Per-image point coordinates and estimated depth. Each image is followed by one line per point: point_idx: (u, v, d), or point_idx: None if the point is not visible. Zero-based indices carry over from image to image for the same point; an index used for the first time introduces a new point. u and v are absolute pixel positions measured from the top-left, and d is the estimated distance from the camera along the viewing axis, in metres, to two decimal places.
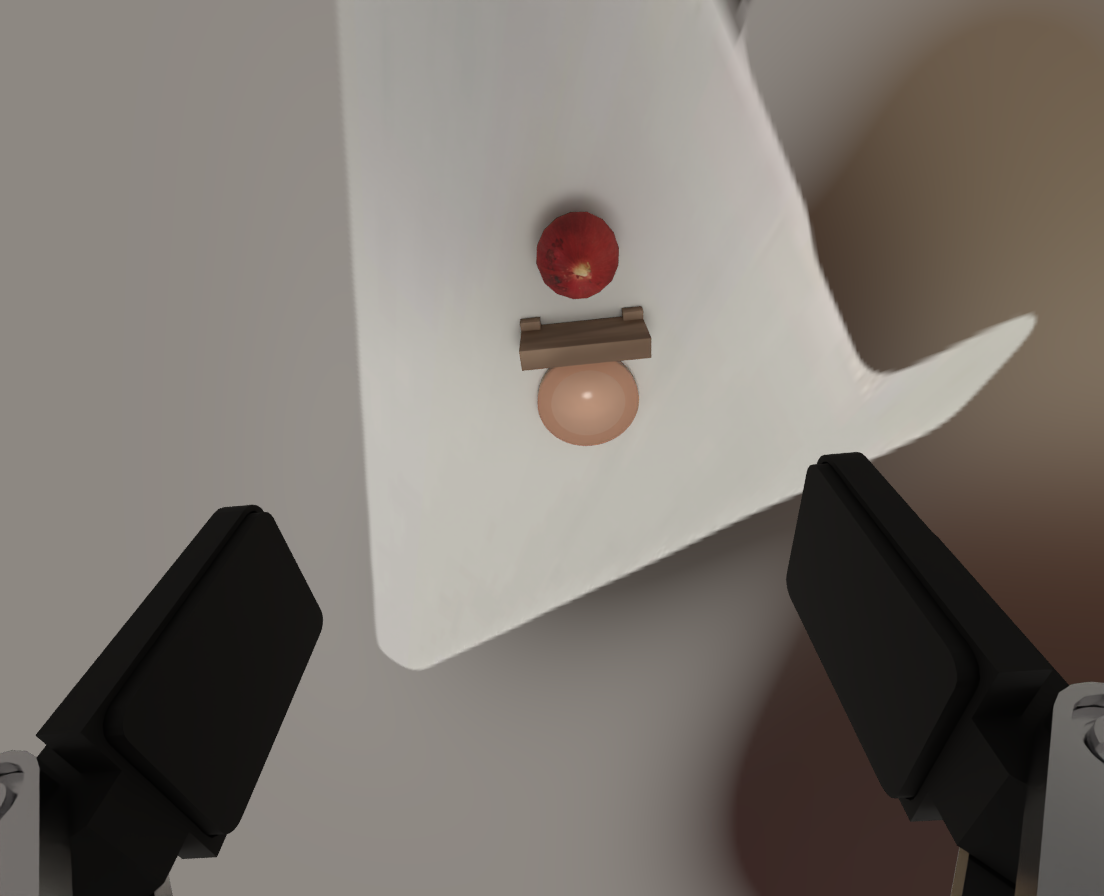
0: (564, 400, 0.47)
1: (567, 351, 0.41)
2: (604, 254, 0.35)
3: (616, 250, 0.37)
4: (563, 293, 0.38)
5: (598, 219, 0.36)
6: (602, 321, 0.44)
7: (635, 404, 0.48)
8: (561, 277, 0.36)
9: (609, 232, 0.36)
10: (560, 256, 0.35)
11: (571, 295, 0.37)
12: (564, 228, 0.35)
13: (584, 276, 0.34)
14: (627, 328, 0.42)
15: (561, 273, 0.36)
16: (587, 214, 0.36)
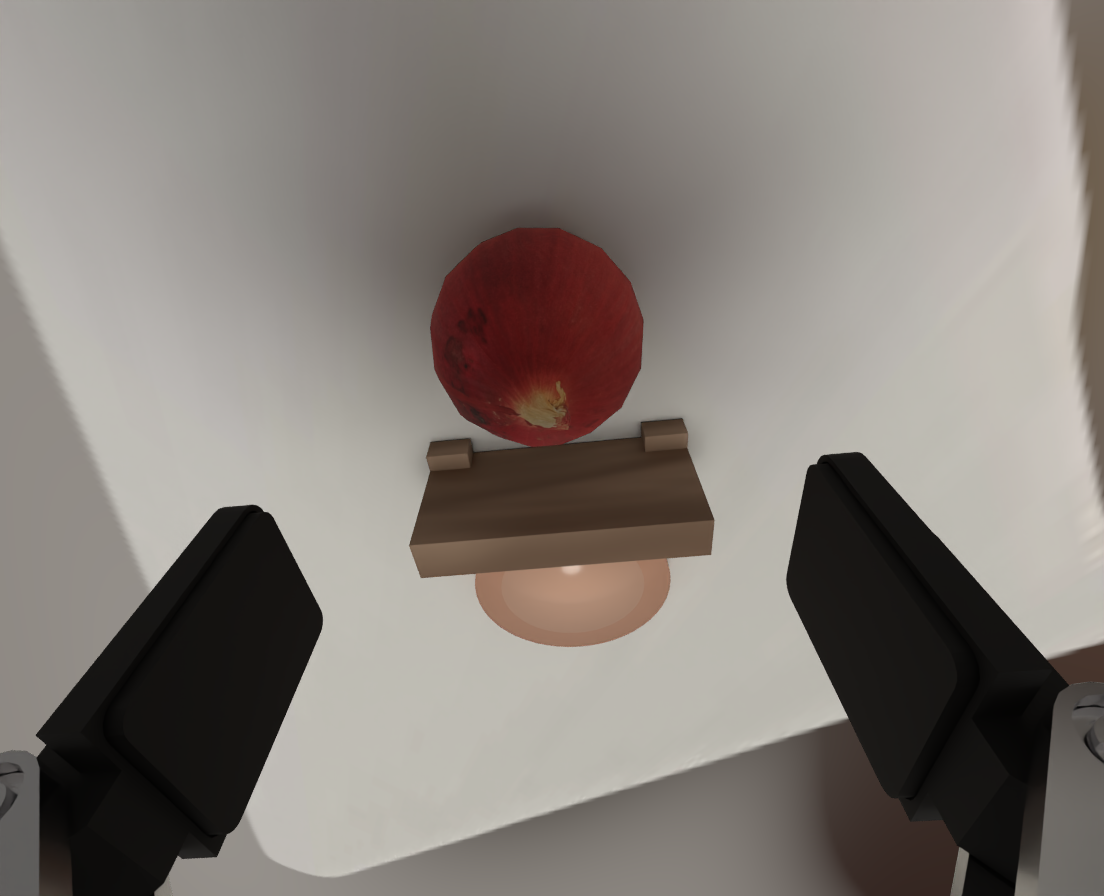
0: (526, 583, 0.24)
1: (519, 544, 0.18)
2: (605, 353, 0.12)
3: (639, 333, 0.14)
4: None
5: (590, 250, 0.13)
6: (600, 449, 0.21)
7: (663, 588, 0.25)
8: (486, 414, 0.13)
9: (620, 286, 0.13)
10: (479, 362, 0.12)
11: None
12: (491, 279, 0.12)
13: (547, 427, 0.12)
14: (655, 477, 0.19)
15: (484, 406, 0.13)
16: (559, 236, 0.13)
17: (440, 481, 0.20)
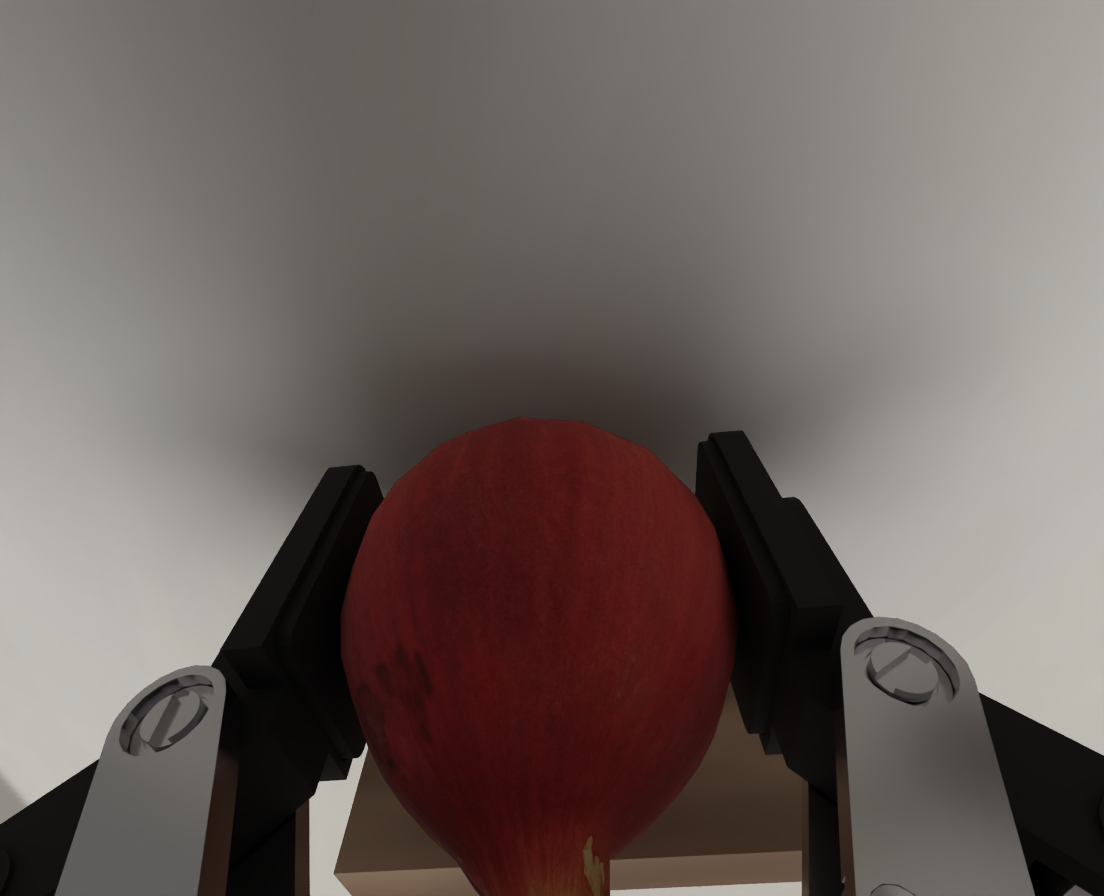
0: None
1: None
2: (684, 734, 0.06)
3: (734, 635, 0.07)
4: None
5: (645, 491, 0.07)
6: None
7: None
8: None
9: (704, 560, 0.07)
10: (415, 773, 0.06)
11: None
12: (444, 586, 0.06)
13: None
14: (720, 731, 0.13)
15: (431, 837, 0.06)
16: (586, 471, 0.07)
17: None
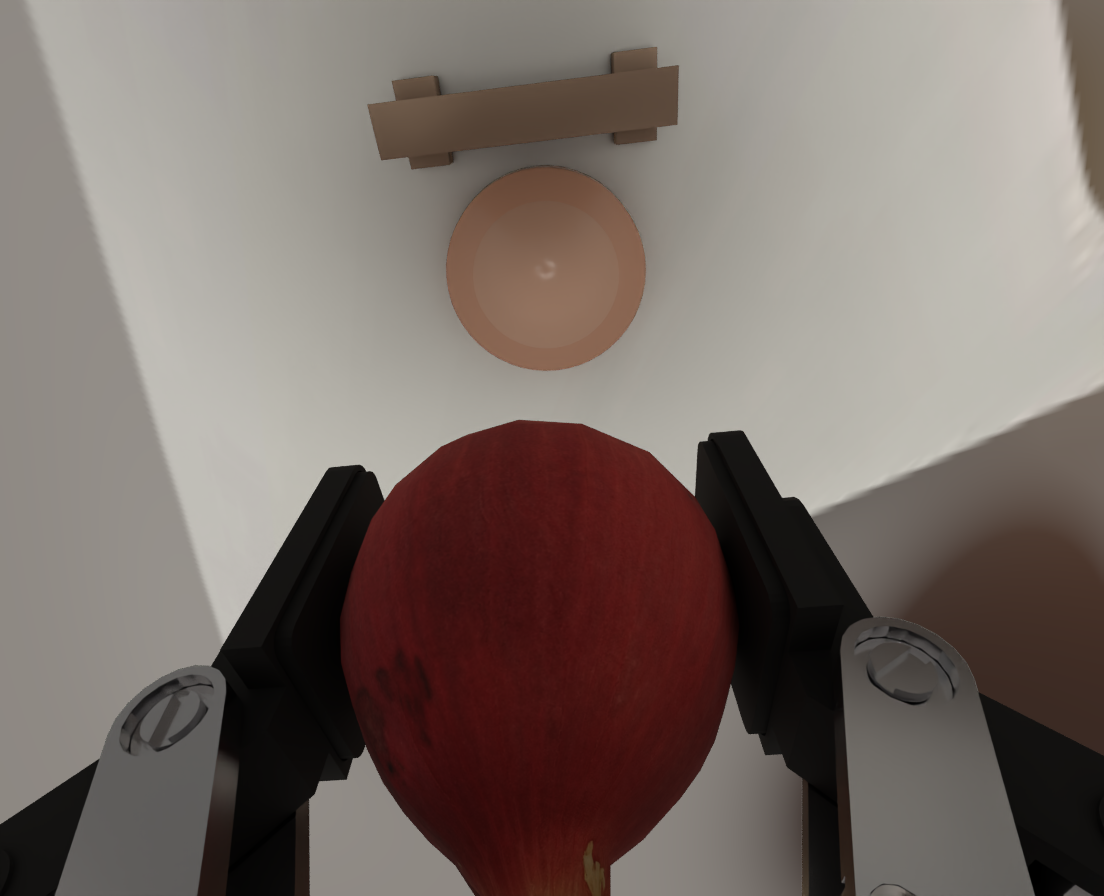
0: (498, 271, 0.24)
1: (480, 104, 0.17)
2: (685, 738, 0.06)
3: (735, 638, 0.07)
4: None
5: (646, 494, 0.07)
6: None
7: (638, 281, 0.24)
8: None
9: (705, 563, 0.07)
10: (416, 778, 0.06)
11: None
12: (444, 590, 0.06)
13: None
14: None
15: (430, 842, 0.06)
16: (586, 475, 0.07)
17: None
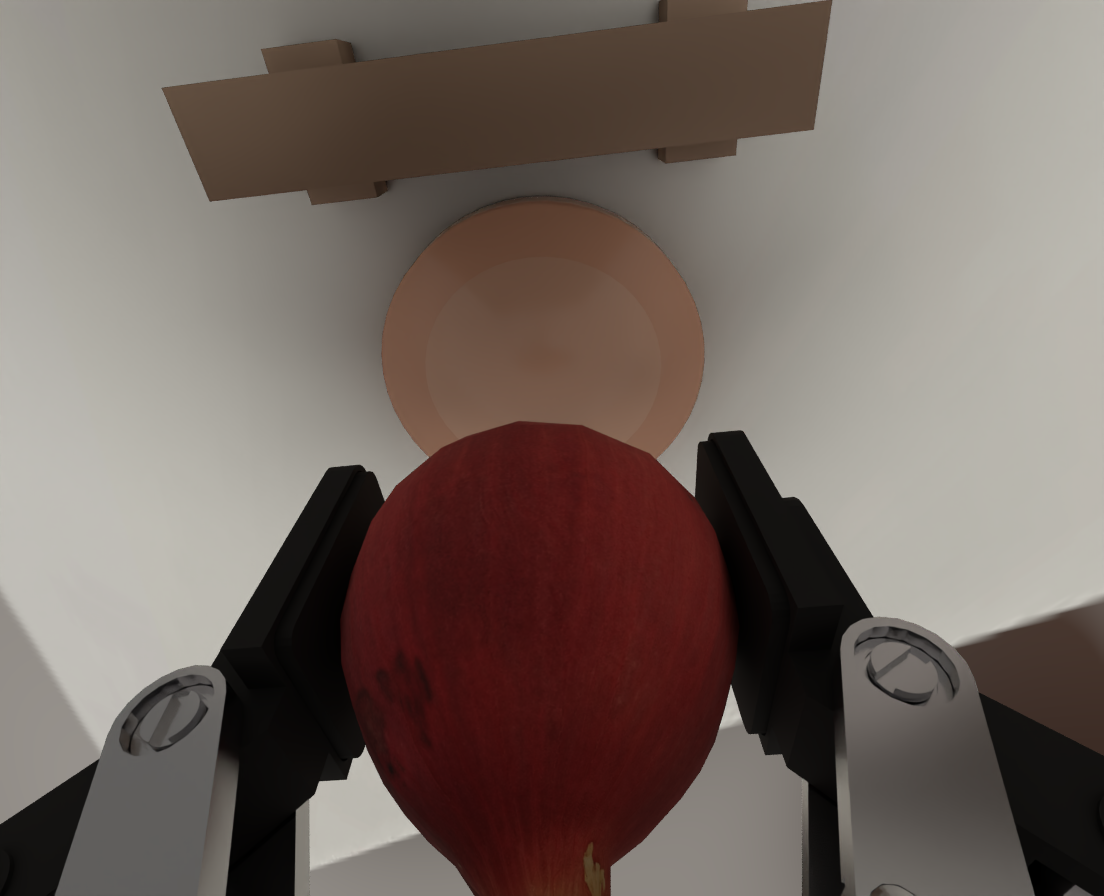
0: (466, 365, 0.15)
1: (401, 87, 0.08)
2: (685, 739, 0.06)
3: (735, 639, 0.07)
4: None
5: (646, 495, 0.07)
6: None
7: (692, 379, 0.15)
8: None
9: (705, 565, 0.07)
10: (416, 780, 0.06)
11: None
12: (444, 591, 0.06)
13: None
14: None
15: (430, 843, 0.06)
16: (587, 476, 0.07)
17: None
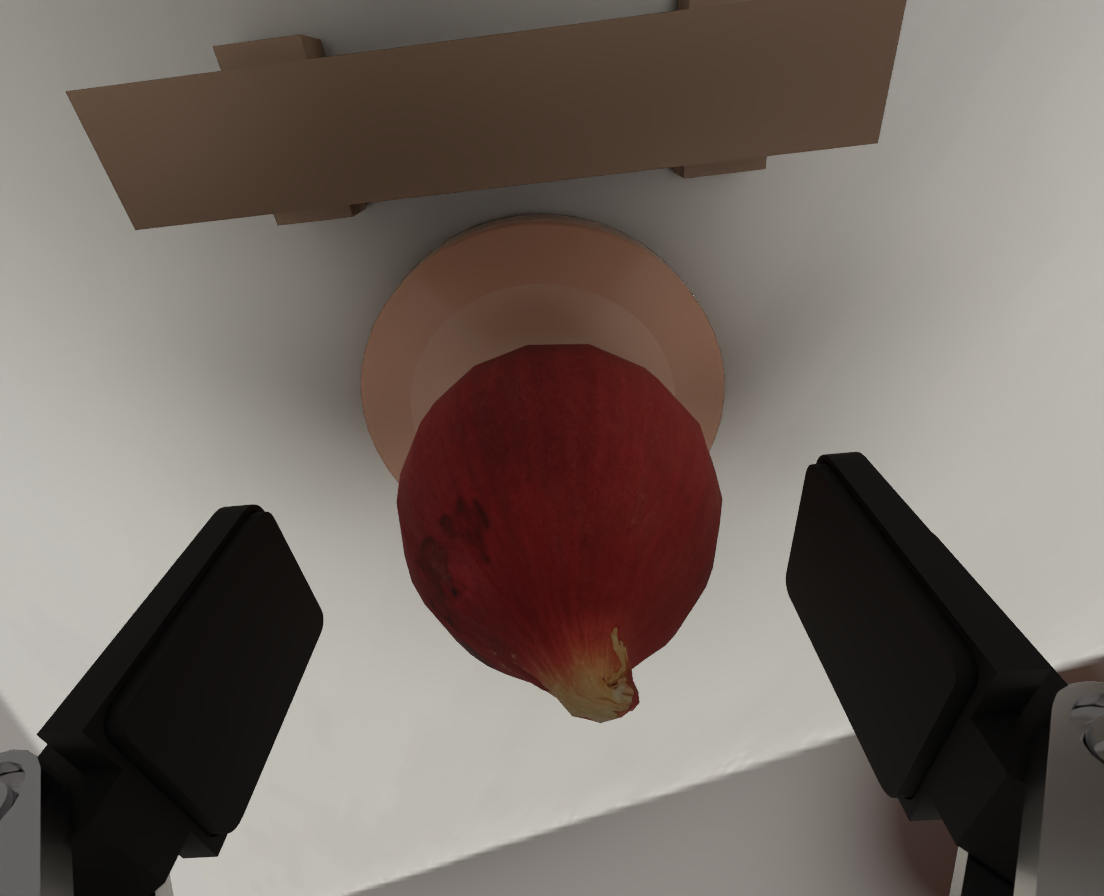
0: None
1: (364, 91, 0.07)
2: (683, 562, 0.08)
3: (719, 505, 0.09)
4: None
5: (645, 386, 0.08)
6: None
7: (710, 417, 0.13)
8: (488, 659, 0.08)
9: (693, 440, 0.08)
10: (477, 592, 0.07)
11: None
12: (494, 449, 0.07)
13: (601, 720, 0.07)
14: None
15: (486, 654, 0.08)
16: (598, 369, 0.08)
17: None
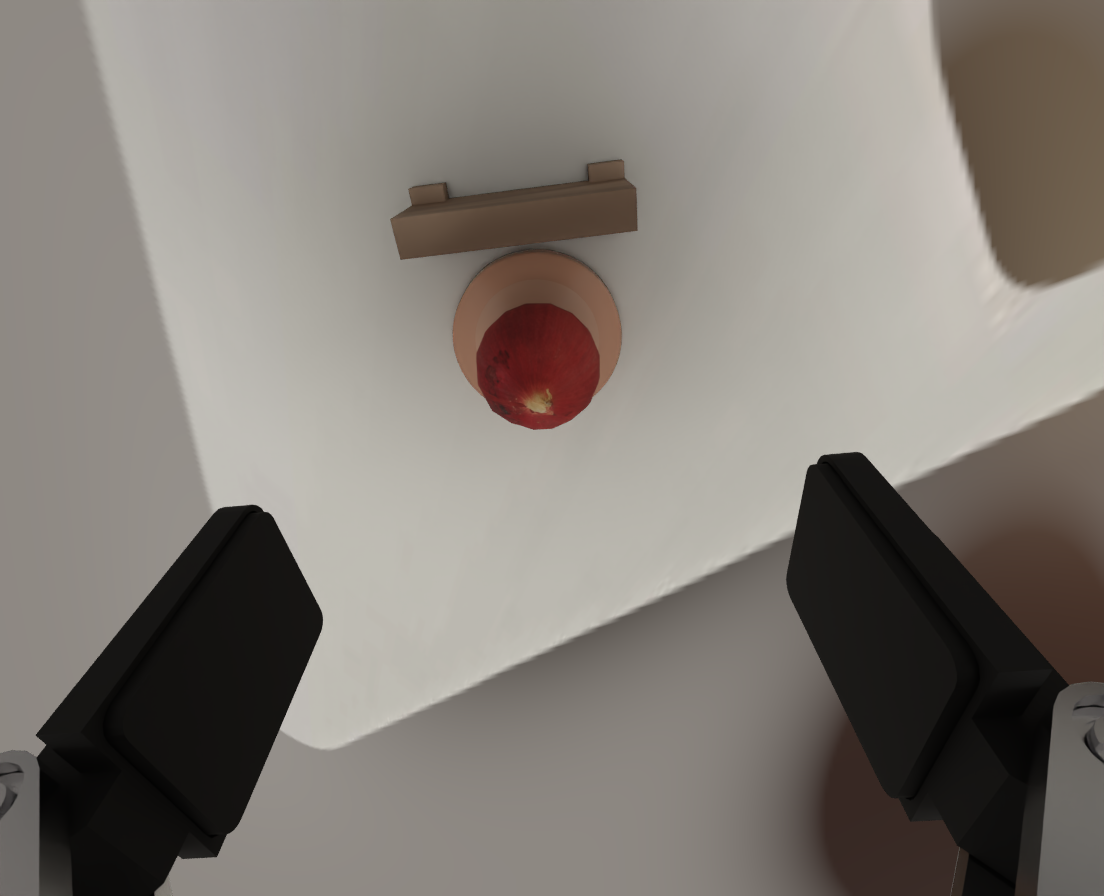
0: None
1: (479, 218, 0.22)
2: (574, 374, 0.23)
3: (595, 362, 0.24)
4: (516, 423, 0.25)
5: (566, 317, 0.24)
6: (553, 186, 0.25)
7: (616, 342, 0.28)
8: (508, 408, 0.23)
9: (583, 336, 0.24)
10: (505, 379, 0.22)
11: (528, 427, 0.25)
12: (511, 334, 0.23)
13: (541, 412, 0.22)
14: (594, 185, 0.23)
15: (507, 403, 0.23)
16: (549, 310, 0.23)
17: (419, 206, 0.24)
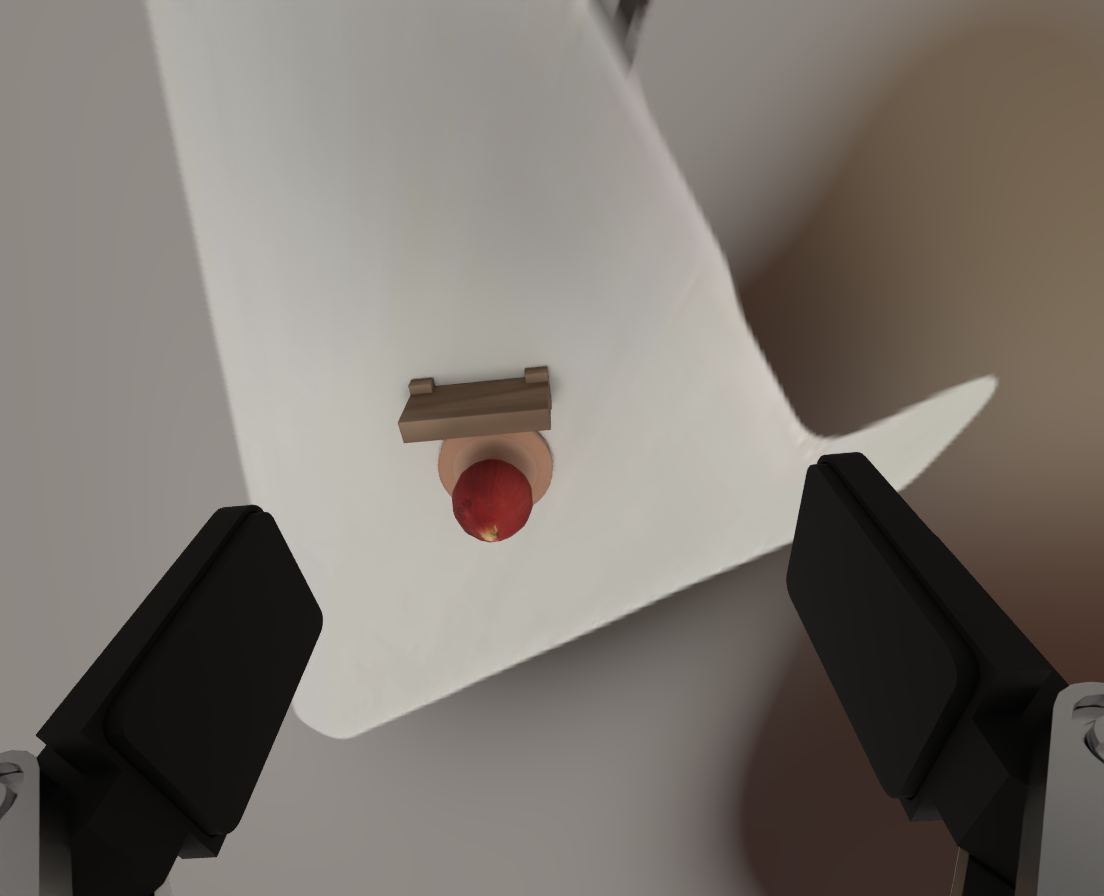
0: None
1: (452, 422, 0.35)
2: (512, 513, 0.36)
3: (527, 501, 0.38)
4: None
5: (509, 474, 0.37)
6: (503, 383, 0.39)
7: (548, 472, 0.42)
8: (471, 533, 0.37)
9: (519, 486, 0.37)
10: (469, 517, 0.36)
11: None
12: (473, 489, 0.36)
13: (491, 541, 0.35)
14: (526, 393, 0.37)
15: (471, 531, 0.36)
16: (497, 470, 0.37)
17: (415, 398, 0.38)
